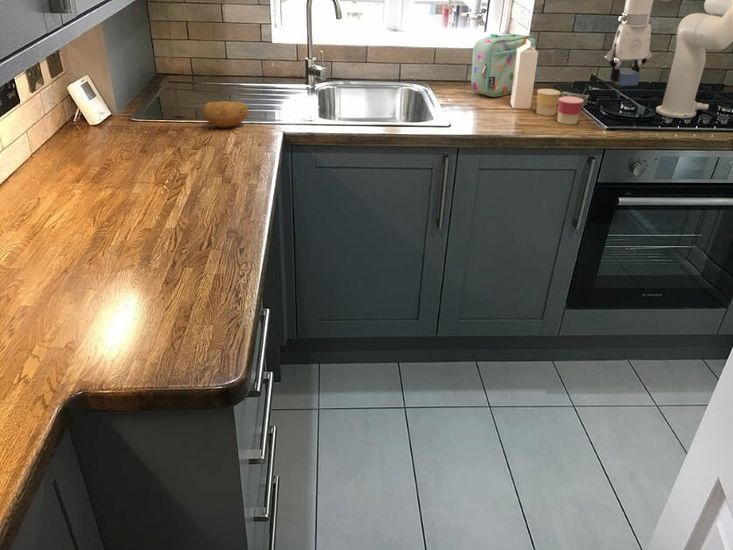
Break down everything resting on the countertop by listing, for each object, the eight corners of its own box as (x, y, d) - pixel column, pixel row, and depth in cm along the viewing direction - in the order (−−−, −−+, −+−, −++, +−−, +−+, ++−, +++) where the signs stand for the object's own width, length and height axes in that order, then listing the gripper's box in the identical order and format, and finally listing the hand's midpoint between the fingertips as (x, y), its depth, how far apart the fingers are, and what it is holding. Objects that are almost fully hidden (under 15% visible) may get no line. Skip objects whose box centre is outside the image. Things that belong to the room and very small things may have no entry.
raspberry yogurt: (577, 118, 203) (581, 96, 199) (581, 125, 196) (585, 103, 193) (553, 117, 204) (557, 95, 200) (556, 124, 197) (560, 102, 194)
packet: (625, 79, 197) (627, 67, 195) (637, 85, 191) (640, 73, 189) (609, 79, 197) (611, 68, 195) (620, 86, 190) (623, 74, 188)
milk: (513, 108, 213) (521, 42, 201) (509, 103, 218) (517, 38, 206) (530, 108, 213) (539, 42, 201) (527, 103, 218) (535, 38, 206)
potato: (250, 129, 191) (248, 104, 187) (204, 132, 189) (201, 106, 185) (249, 120, 200) (246, 96, 195) (205, 123, 197) (201, 98, 193)
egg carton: (551, 104, 218) (553, 92, 216) (560, 99, 223) (562, 88, 221) (580, 109, 212) (583, 97, 210) (589, 104, 217) (591, 93, 215)
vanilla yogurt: (555, 110, 211) (558, 89, 207) (558, 116, 205) (561, 94, 201) (533, 109, 212) (536, 88, 208) (535, 115, 206) (538, 94, 202)
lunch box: (485, 101, 220) (492, 38, 209) (465, 95, 228) (470, 34, 217) (534, 90, 234) (542, 31, 223) (514, 84, 241) (521, 27, 230)
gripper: (614, 23, 180) (603, 85, 189) (669, 20, 182) (655, 82, 191) (602, 18, 186) (592, 79, 196) (656, 16, 188) (643, 76, 197)
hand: (623, 80), depth 193 cm, fingers closed on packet, 5 cm apart
